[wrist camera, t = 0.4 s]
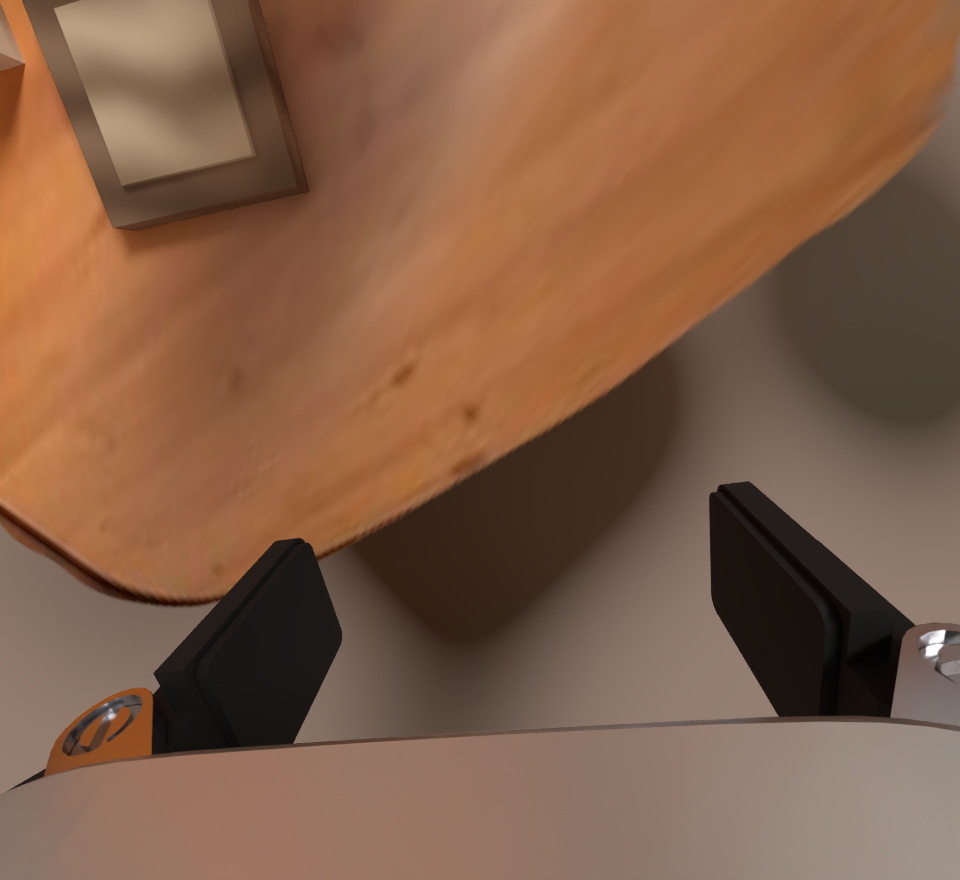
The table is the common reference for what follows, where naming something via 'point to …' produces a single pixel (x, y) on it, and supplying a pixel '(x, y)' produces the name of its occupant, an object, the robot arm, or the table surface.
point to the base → (171, 104)
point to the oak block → (8, 45)
